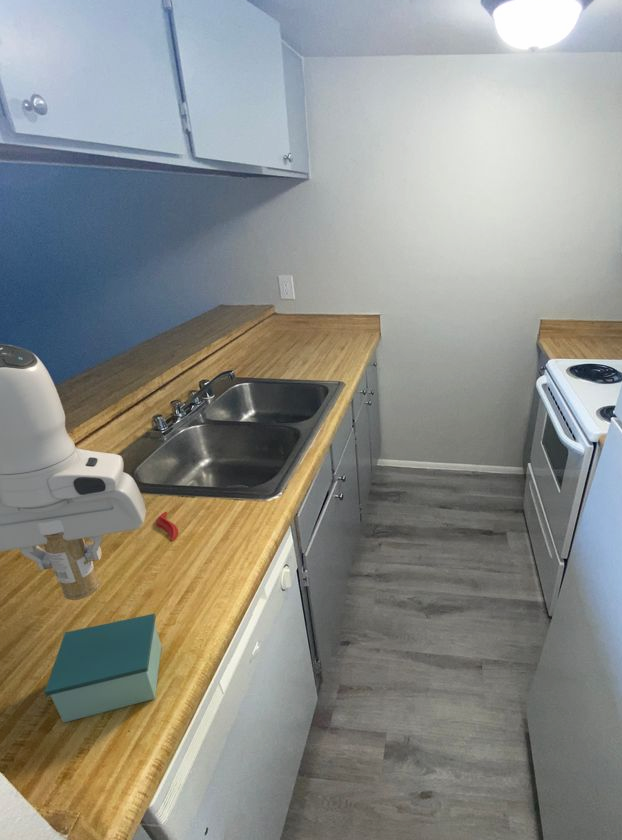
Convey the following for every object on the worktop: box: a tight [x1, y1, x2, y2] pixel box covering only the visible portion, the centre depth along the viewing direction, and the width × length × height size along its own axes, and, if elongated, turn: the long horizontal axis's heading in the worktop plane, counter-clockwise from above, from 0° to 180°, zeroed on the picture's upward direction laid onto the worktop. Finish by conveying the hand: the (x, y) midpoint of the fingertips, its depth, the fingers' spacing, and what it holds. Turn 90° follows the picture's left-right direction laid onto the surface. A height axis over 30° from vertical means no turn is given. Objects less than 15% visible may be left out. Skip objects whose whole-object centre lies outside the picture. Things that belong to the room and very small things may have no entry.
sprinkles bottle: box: [38, 520, 101, 601], centre depth 64 cm, size 5×5×14 cm
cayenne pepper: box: [155, 511, 179, 542], centre depth 108 cm, size 12×5×2 cm, turn 24°
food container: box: [44, 613, 162, 723], centre depth 72 cm, size 13×11×7 cm
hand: (72, 562), depth 65 cm, fingers closed on sprinkles bottle, 4 cm apart
